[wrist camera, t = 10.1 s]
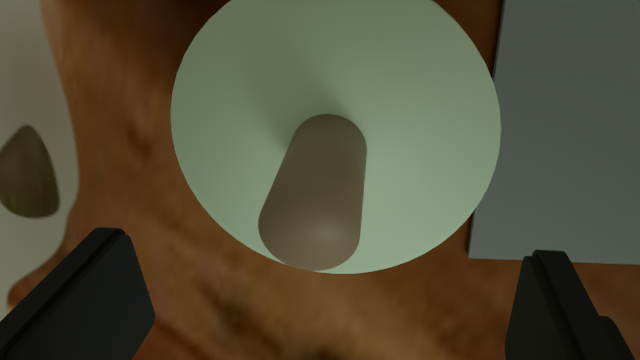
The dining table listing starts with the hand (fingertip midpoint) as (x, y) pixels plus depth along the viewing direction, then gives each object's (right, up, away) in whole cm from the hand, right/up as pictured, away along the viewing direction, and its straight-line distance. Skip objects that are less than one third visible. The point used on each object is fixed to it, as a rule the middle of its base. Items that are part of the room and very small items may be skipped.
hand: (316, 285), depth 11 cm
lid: (+1, +4, +7) cm, 8 cm away
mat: (+15, +4, +10) cm, 19 cm away
